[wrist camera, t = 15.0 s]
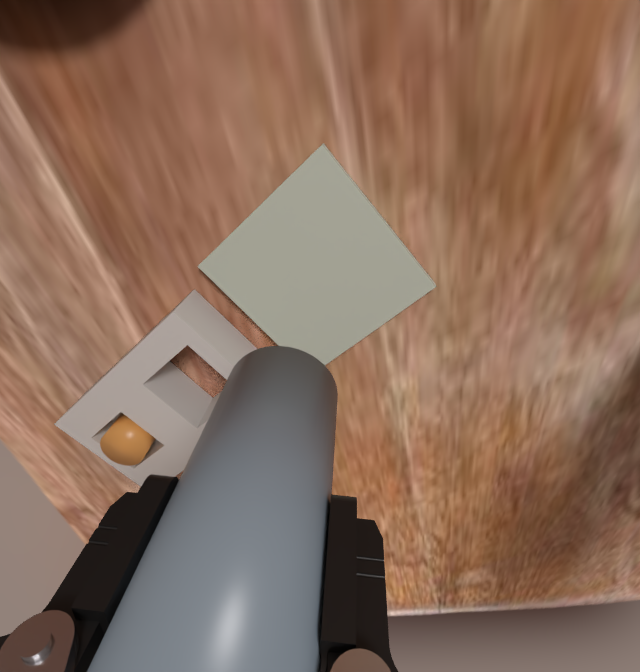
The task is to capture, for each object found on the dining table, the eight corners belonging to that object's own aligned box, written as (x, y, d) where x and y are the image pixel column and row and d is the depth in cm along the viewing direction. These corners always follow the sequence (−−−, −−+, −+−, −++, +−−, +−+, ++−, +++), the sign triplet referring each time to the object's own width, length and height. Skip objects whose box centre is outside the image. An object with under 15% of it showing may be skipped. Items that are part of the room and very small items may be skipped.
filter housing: (194, 289, 31) (173, 311, 27) (285, 375, 34) (276, 405, 31) (83, 395, 37) (53, 424, 33) (168, 460, 40) (150, 493, 36)
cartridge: (342, 351, 15) (314, 862, 5) (333, 440, 17) (300, 927, 7) (225, 341, 15) (-46, 813, 5) (230, 430, 17) (49, 892, 7)
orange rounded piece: (135, 401, 34) (116, 424, 32) (168, 427, 35) (153, 452, 33) (111, 421, 36) (91, 446, 33) (144, 446, 37) (127, 471, 34)
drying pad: (434, 282, 29) (436, 286, 28) (311, 370, 34) (309, 376, 33) (323, 143, 25) (322, 144, 25) (201, 263, 30) (197, 266, 29)
